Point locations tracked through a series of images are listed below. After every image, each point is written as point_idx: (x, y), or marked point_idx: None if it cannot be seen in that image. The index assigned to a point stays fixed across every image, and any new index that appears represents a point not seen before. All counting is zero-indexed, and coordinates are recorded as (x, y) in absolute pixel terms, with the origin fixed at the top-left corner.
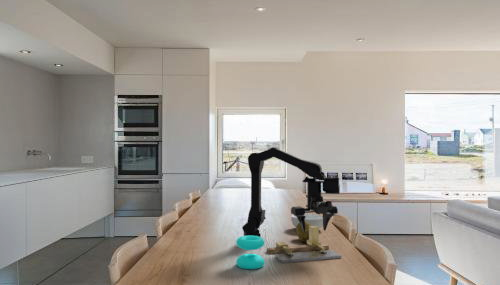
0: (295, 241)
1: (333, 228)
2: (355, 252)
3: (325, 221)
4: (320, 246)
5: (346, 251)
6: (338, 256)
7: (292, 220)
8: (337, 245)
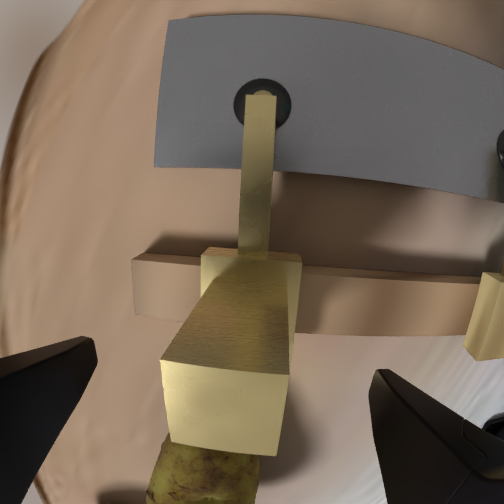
0: (278, 463)
1: (51, 487)
2: (36, 136)
3: (14, 394)
4: (257, 159)
5: (65, 167)
6: (192, 20)
7: None
8: (65, 311)
